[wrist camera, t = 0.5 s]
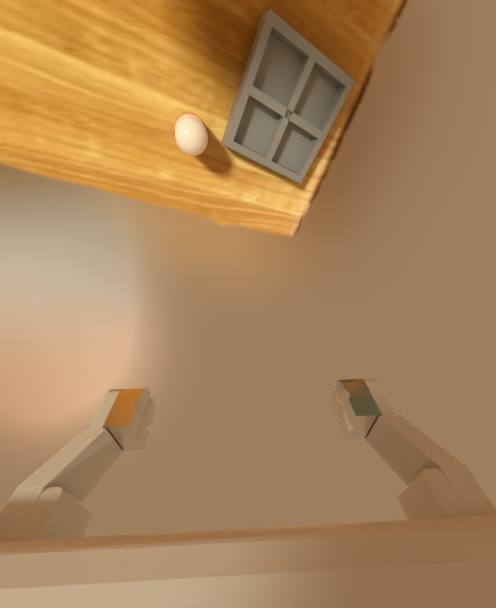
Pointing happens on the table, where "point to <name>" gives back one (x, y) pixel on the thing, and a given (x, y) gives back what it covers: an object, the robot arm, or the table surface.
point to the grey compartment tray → (285, 100)
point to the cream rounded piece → (191, 134)
